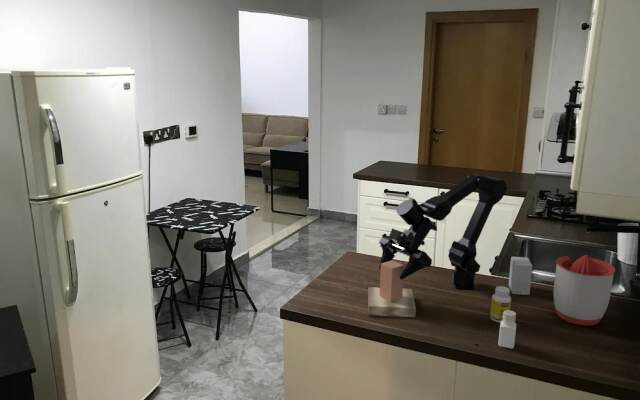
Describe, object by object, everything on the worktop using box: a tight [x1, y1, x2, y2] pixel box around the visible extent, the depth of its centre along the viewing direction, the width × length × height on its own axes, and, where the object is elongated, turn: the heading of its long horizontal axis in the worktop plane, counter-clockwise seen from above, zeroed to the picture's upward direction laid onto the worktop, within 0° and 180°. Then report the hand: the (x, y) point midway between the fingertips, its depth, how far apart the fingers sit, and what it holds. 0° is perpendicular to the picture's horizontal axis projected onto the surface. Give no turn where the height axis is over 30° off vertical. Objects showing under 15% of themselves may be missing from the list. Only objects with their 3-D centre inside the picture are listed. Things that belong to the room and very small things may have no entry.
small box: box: [508, 256, 533, 296], centre depth 174 cm, size 8×6×10 cm
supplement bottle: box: [489, 285, 512, 324], centre depth 153 cm, size 5×5×10 cm
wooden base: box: [367, 286, 417, 318], centre depth 162 cm, size 14×14×3 cm
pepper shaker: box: [497, 309, 517, 350], centre depth 139 cm, size 4×4×10 cm
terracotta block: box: [379, 259, 405, 302], centre depth 160 cm, size 5×5×11 cm
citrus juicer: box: [552, 254, 616, 326], centre depth 154 cm, size 16×17×20 cm
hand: (390, 273), depth 159 cm, fingers open, 9 cm apart
